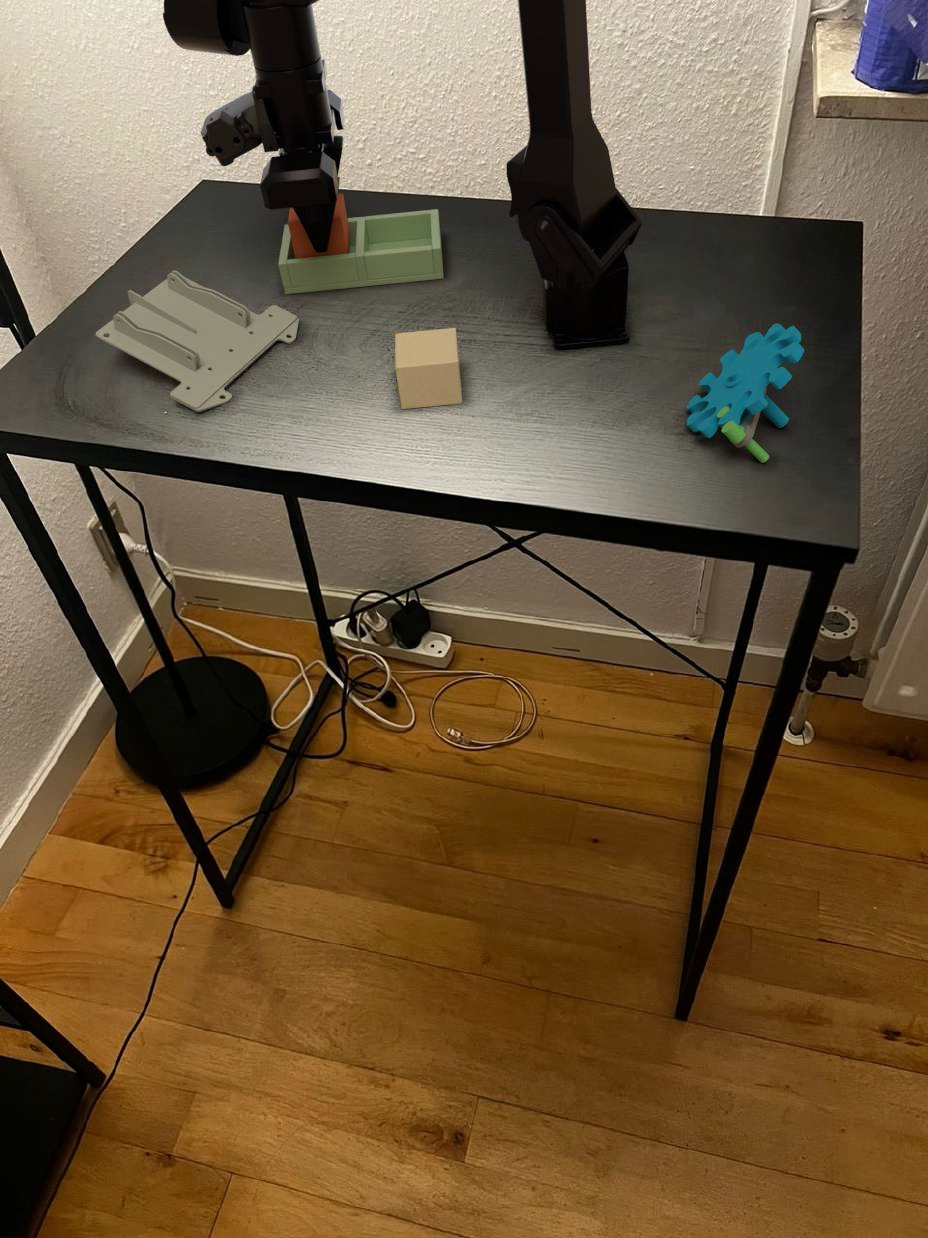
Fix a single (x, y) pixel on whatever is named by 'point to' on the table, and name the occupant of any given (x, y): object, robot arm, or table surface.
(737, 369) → the gear
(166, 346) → the metal bracket
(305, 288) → the green divided tray
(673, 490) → the table surface
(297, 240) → the terracotta block
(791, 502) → the table surface
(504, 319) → the table surface
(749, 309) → the table surface
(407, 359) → the tan block
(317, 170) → the robot arm
